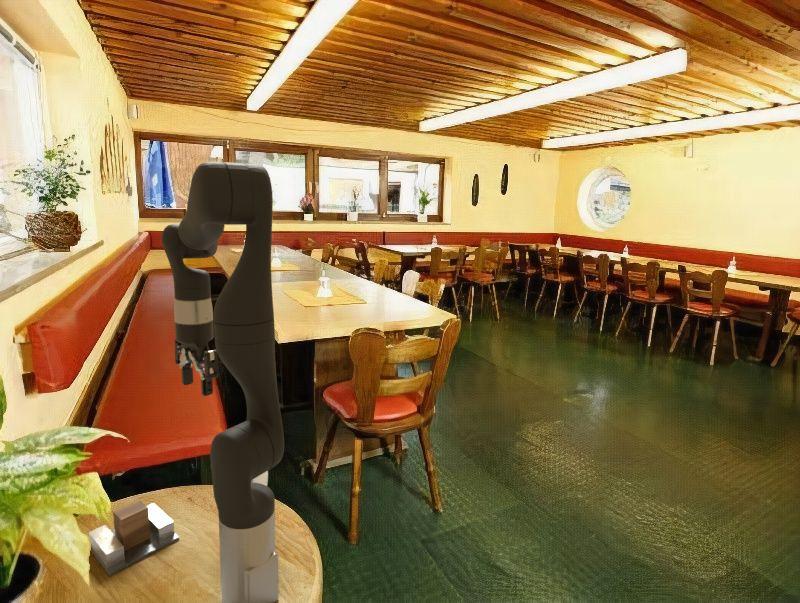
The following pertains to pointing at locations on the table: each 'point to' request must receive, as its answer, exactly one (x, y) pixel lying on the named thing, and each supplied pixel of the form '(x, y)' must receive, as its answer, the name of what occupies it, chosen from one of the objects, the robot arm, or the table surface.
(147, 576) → the table surface
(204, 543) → the table surface
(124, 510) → the walnut wick block
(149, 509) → the grey metal u-shaped piece
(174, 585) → the table surface
